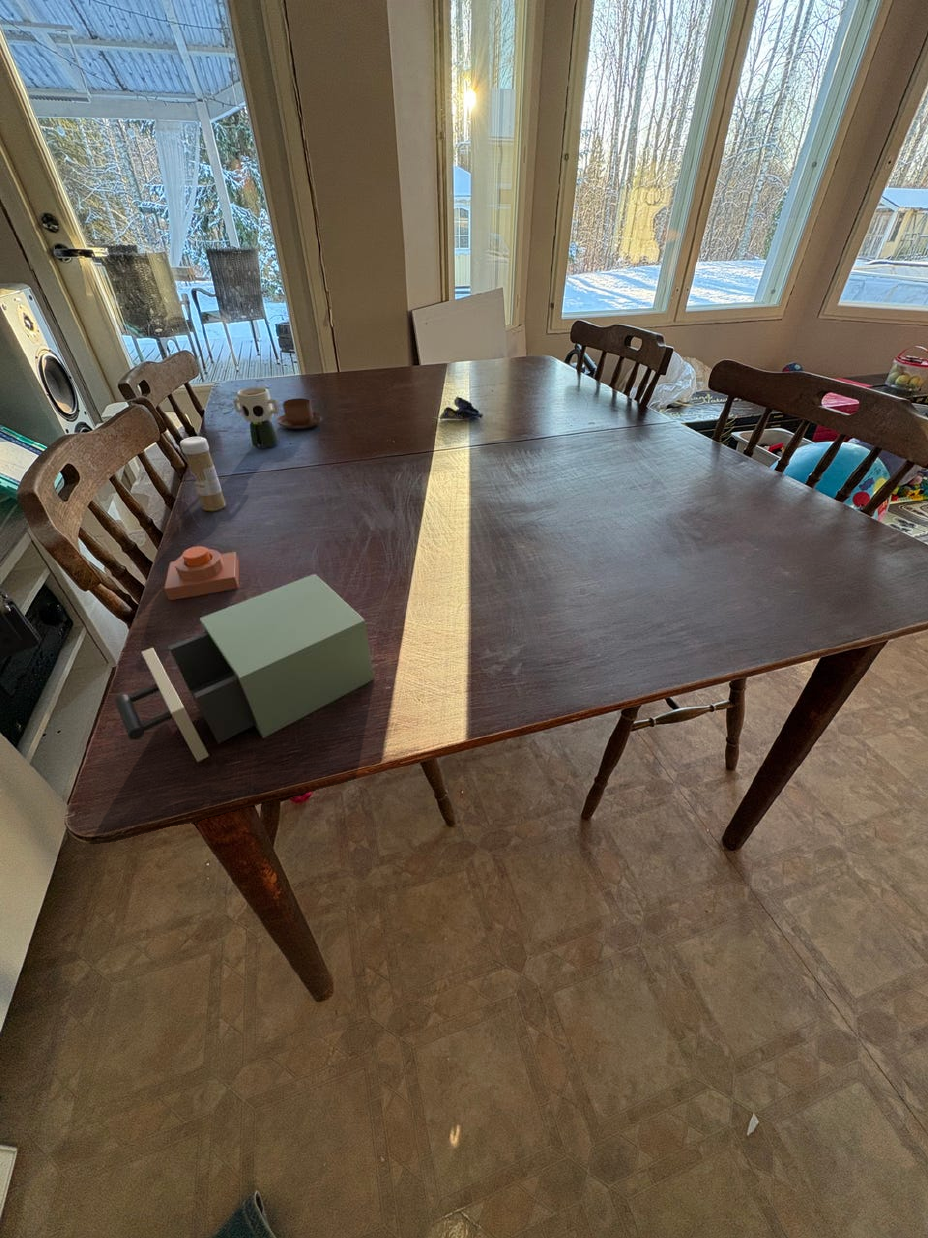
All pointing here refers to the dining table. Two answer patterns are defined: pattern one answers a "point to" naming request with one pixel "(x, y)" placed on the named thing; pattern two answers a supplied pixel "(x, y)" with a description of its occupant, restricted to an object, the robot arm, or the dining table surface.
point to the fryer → (292, 650)
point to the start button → (196, 556)
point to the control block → (202, 576)
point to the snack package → (460, 410)
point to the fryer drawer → (193, 694)
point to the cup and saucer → (298, 414)
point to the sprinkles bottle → (203, 473)
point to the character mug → (258, 414)
